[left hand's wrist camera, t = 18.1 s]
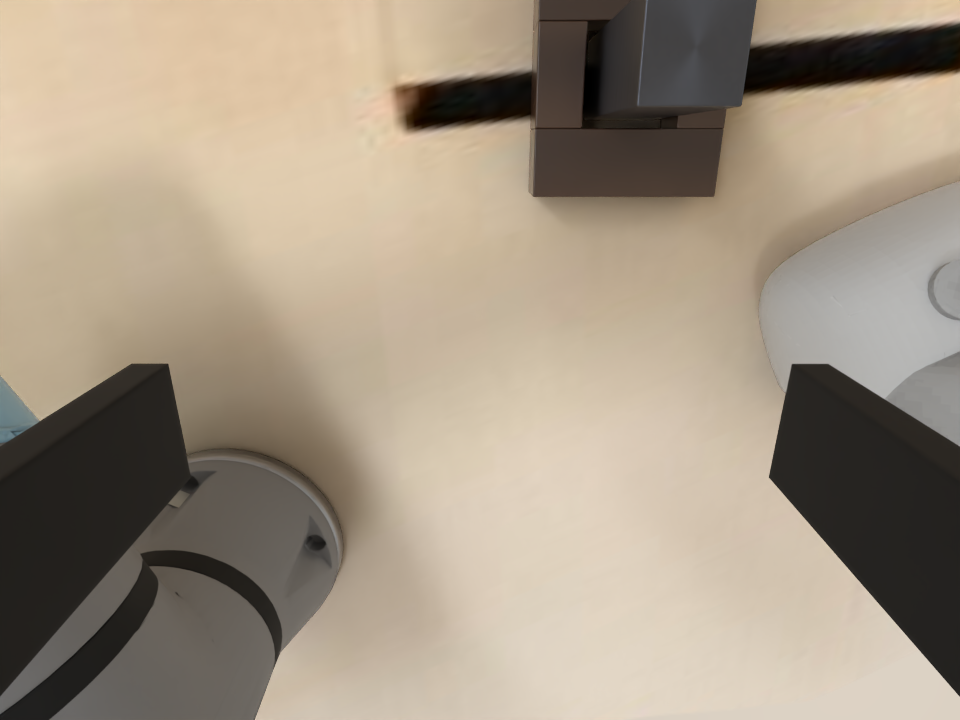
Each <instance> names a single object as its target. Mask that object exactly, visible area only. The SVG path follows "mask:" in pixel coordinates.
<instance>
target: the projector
mask: <svg viewBox="0 0 960 720" xmlns="http://www.w3.org/2000/svg"><path fill="white" fill-rule="evenodd" d="M759 322H760V327H761V332H762V336H763V340H764V344H765V347H766V350H767V354H768V357H769V360H770V363H771V366H772V368H773V371H774V374H775V376H776V379H777V382H778V384H779V386H780V388H781V389H782V390H783V391H784V392H785V393H786V390H787V385H788V380H789V375H790V370H791V365H792V364H829V365H831V366H833V367H834V368H836V369H837V370H839V371H840V372H842V373H844V374H845V375H847V376H848V377H850V378H852V379H853V380H855V381H856V382H858V383H860V384H861V385H863V386H864V387H866V388H868V389H869V390H871V391H872V392H874V393H876V394H877V395H879V396H880V397H882V398H884V399H885V400H887V401H888V402H890V403H891V404H893V405H895V406H896V407H898V408H899V409H901V410H903V411H904V412H906V413H907V414H909V415H911V416H912V417H914V418H915V419H917V420H919V421H920V422H922V423H923V424H925V425H927V426H928V427H930V428H931V429H933V430H935V431H936V432H938V433H939V434H941V435H942V436H944V437H946V438H947V439H949V440H950V441H952V442H954V443H955V444H957V445H958V446H960V181H957V182H954V183H951V184H948V185H945V186H942V187H939V188H936V189H934V190H931V191H928V192H925V193H923V194H920V195H918V196H915V197H912V198H910V199H907V200H905V201H902V202H900V203H897V204H895V205H892V206H890V207H887V208H885V209H883V210H881V211H878V212H876V213H874V214H871V215H869V216H867V217H864V218H862V219H860V220H858V221H856V222H854V223H852V224H849V225H847V226H845V227H843V228H841V229H839V230H837V231H835V232H833V233H831V234H829V235H827V236H825V237H823V238H821V239H819V240H817V241H816V242H814V243H812V244H810V245H809V246H807V247H805V248H804V249H802V250H800V251H799V252H797V253H796V254H794V255H793V256H791V257H790V258H788V259H787V260H785V261H784V262H783V263H782V264H780V265H779V266H778V267H777V268H776V269H775V270H774V271H773V272H772V273H771V274H770V276H769V277H768V279H767V280H766V282H765V284H764V287H763V289H762V292H761V297H760V302H759Z"/></svg>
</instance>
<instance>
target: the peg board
mask: <svg viewBox="0 0 960 720" xmlns="http://www.w3.org/2000/svg"><path fill="white" fill-rule="evenodd" d="M630 1H631V0H534V21H533V31H534V32H533V58H532V93H531V129H532V130H531V131H530V162H529V193H530V194H531V195H532V196H533V197H714V194H715V187H716V179H717V172H718V165H719V157H720V150H721V143H722V136H723V129H722V128H724V122H725V115H726V109H720V110H714V111H707V112H701V113H694V114H688V115H681V116H674V117H668V118H662V119H661V128H582V118H583V101H584V83H585V66H586V49H587V31H600V30H601V29H602V28H603V27H604V26H605V25H606V24H607V23H608V22H609V21H610V20H611V19H613V18H614V17H615V16H616V15H617V14H618V13H619V12H620V11H621V10H622V9H623V8H624V7H625V6H626V5H627V4H628V3H629V2H630Z"/></svg>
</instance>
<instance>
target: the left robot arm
mask: <svg viewBox="0 0 960 720" xmlns="http://www.w3.org/2000/svg"><path fill="white" fill-rule="evenodd" d="M769 478H770V479H771V480H772V481H773V483H774V484H775V485H776V486H777V487H778V488H779V489H780V491H781V492H782V493H783V494H784V495H785V496H786V497H787V499H788V500H789V501H790V502H791V503H792V504H793V506H794V507H795V508H796V509H797V510H798V511H799V512H800V514H801V515H802V516H803V517H804V518H805V519H806V520H807V522H808V523H809V524H810V525H811V526H812V527H813V528H814V530H815V531H816V532H817V533H818V534H819V535H820V537H821V538H822V539H823V540H824V541H825V542H826V543H827V545H828V546H829V547H830V548H831V549H832V550H833V551H834V553H835V554H836V555H837V556H838V557H839V558H840V560H841V561H842V562H843V563H844V564H845V565H846V566H847V568H848V569H849V570H850V571H851V572H852V573H853V574H854V576H855V577H856V578H857V579H858V580H859V581H860V582H861V584H862V585H863V586H864V587H865V588H866V589H867V591H868V592H869V593H870V594H871V595H872V596H873V597H874V599H875V600H876V601H877V602H878V603H879V604H880V605H881V607H882V608H883V609H884V610H885V611H886V612H887V614H888V615H889V616H890V617H891V618H892V619H893V620H894V622H895V623H896V624H897V625H898V626H899V627H900V628H901V630H902V631H903V632H904V633H905V634H906V635H907V636H908V638H909V639H910V640H911V641H912V642H913V643H914V645H915V646H916V647H917V648H918V649H919V650H920V651H921V653H922V654H923V655H924V656H925V657H926V658H927V659H928V661H929V662H930V663H931V664H932V665H933V666H934V667H935V669H936V670H937V671H938V672H939V673H940V674H941V676H942V677H943V678H944V679H945V680H946V681H947V682H948V683H949V685H950V686H951V687H952V688H953V689H954V690H955V692H956V693H957V694H958V695H959V696H960V446H958V445H957V444H955V443H954V442H952V441H950V440H949V439H947V438H946V437H944V436H942V435H941V434H939V433H938V432H936V431H935V430H933V429H931V428H930V427H928V426H927V425H925V424H923V423H922V422H920V421H919V420H917V419H915V418H914V417H912V416H911V415H909V414H907V413H906V412H904V411H903V410H901V409H899V408H898V407H896V406H895V405H893V404H891V403H890V402H888V401H887V400H885V399H884V398H882V397H880V396H879V395H877V394H876V393H874V392H872V391H871V390H869V389H868V388H866V387H864V386H863V385H861V384H860V383H858V382H856V381H855V380H853V379H852V378H850V377H848V376H847V375H845V374H844V373H842V372H840V371H839V370H837V369H836V368H834V367H833V366H831V365H829V364H792V365H791V370H790V375H789V380H788V385H787V390H786V395H785V400H784V405H783V410H782V415H781V420H780V425H779V430H778V435H777V440H776V445H775V450H774V455H773V460H772V465H771V470H770V475H769ZM342 554H343V539H342V532H341V528H340V524H339V521H338V519H337V516H336V514H335V512H334V510H333V508H332V507H331V505H330V503H329V502H328V500H327V499H326V498H325V496H324V495H323V494H322V493H321V491H320V490H319V489H318V488H317V487H316V486H315V485H314V484H313V483H312V482H311V481H310V480H308V479H307V478H306V477H305V476H303V475H302V474H301V473H299V472H298V471H296V470H295V469H293V468H292V467H290V466H288V465H286V464H284V463H282V462H280V461H278V460H275V459H273V458H270V457H268V456H265V455H262V454H258V453H254V452H249V451H243V450H234V449H215V450H206V451H201V452H197V453H193V454H189V455H186V450H185V445H184V440H183V435H182V430H181V425H180V420H179V415H178V410H177V405H176V400H175V395H174V390H173V385H172V380H171V375H170V370H169V365H168V364H131V365H129V366H127V367H126V368H124V369H123V370H121V371H120V372H118V373H116V374H115V375H113V376H112V377H110V378H108V379H107V380H105V381H104V382H102V383H100V384H99V385H97V386H96V387H94V388H92V389H91V390H89V391H88V392H86V393H84V394H83V395H81V396H80V397H78V398H76V399H75V400H73V401H72V402H70V403H69V404H67V405H65V406H64V407H62V408H61V409H59V410H57V411H56V412H54V413H53V414H51V415H49V416H48V417H46V418H45V419H43V420H41V421H39V420H38V419H37V418H36V416H35V415H34V414H33V413H32V412H31V411H30V410H29V408H28V407H27V406H26V405H25V404H24V403H23V401H22V400H21V399H20V398H19V397H18V396H17V394H16V393H15V392H14V391H13V390H12V389H11V388H10V386H9V385H8V384H7V383H6V382H5V381H4V379H3V378H2V377H1V376H0V720H255V717H256V715H257V712H258V709H259V707H260V704H261V701H262V699H263V696H264V693H265V691H266V688H267V685H268V682H269V680H270V677H271V674H272V672H273V669H274V667H275V664H276V662H277V659H278V657H279V654H280V652H281V651H282V650H283V649H284V648H285V646H286V645H287V644H288V643H289V642H290V641H291V640H292V639H293V637H294V636H295V635H296V634H297V633H298V632H299V631H300V630H301V628H302V627H303V626H304V625H305V624H306V623H307V622H308V620H309V619H310V618H311V617H312V616H313V615H314V614H315V613H316V611H317V610H318V609H319V608H320V607H321V605H322V604H323V602H324V601H325V599H326V598H327V596H328V594H329V593H330V591H331V589H332V587H333V585H334V582H335V580H336V577H337V574H338V571H339V568H340V564H341V560H342Z"/></svg>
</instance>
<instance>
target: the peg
mask: <svg viewBox="0 0 960 720" xmlns="http://www.w3.org/2000/svg"><path fill="white" fill-rule="evenodd" d="M756 1H757V0H631V1H630V2H629V3H628V4H627V5H626V6H625V7H624V8H623V9H622V10H621V11H620V12H619V13H618V14H617V15H616V16H615V17H614V18H613V19H611V20H610V21H609V22H608V23H607V24H606V25H605V26H604V27H603V28H602V29H601V30H600V31H599V32H598V33H597V34H596V35H595V36H594V37H593V38H592V39H591V40H590V41H589V42H588V55H587V73H586V90H585V107H584V120H655V119H661V118H668V117H674V116H681V115H688V114H694V113H701V112H707V111H714V110H720V109H727V108H733V107H740V106H741V105H742V98H743V91H744V84H745V77H746V70H747V63H748V56H749V50H750V43H751V36H752V29H753V22H754V15H755V8H756Z"/></svg>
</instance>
